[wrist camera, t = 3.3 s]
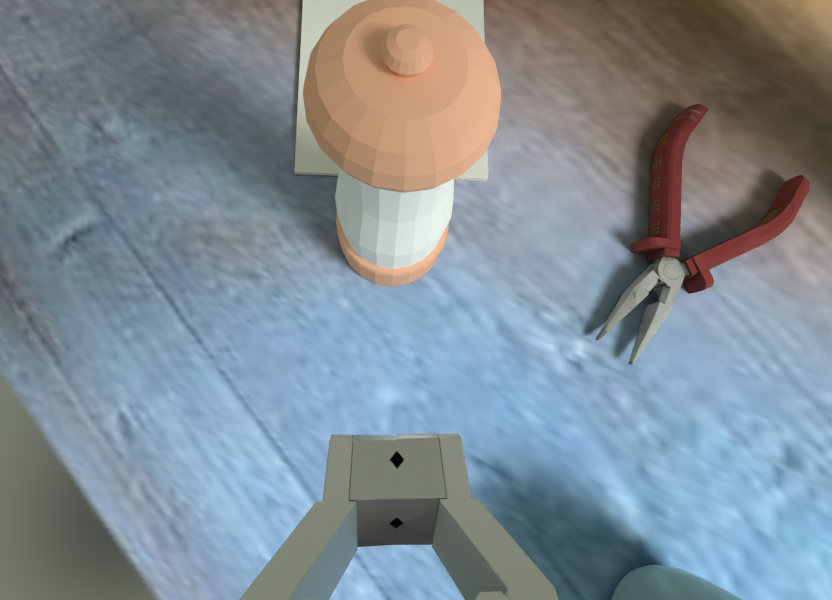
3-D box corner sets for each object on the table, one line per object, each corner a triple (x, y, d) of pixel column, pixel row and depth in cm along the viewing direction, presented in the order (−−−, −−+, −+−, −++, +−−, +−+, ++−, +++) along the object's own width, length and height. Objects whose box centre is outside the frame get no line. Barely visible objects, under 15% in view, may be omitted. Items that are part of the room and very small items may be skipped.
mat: (486, 181, 33) (488, 178, 33) (295, 174, 32) (294, 171, 32) (480, -50, 37) (481, -54, 36) (307, -63, 36) (306, -68, 35)
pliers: (541, 305, 33) (555, 299, 30) (676, 110, 36) (699, 90, 34) (669, 401, 32) (694, 403, 30) (793, 194, 36) (825, 180, 33)
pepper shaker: (380, 169, 33) (381, -107, 14) (461, 227, 33) (572, 25, 14) (319, 246, 32) (229, 55, 13) (403, 307, 31) (438, 203, 13)
